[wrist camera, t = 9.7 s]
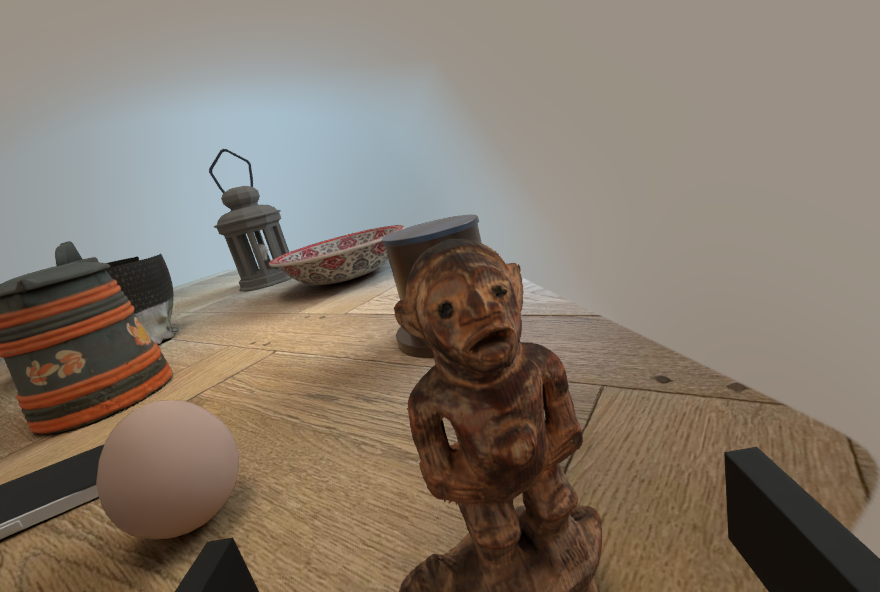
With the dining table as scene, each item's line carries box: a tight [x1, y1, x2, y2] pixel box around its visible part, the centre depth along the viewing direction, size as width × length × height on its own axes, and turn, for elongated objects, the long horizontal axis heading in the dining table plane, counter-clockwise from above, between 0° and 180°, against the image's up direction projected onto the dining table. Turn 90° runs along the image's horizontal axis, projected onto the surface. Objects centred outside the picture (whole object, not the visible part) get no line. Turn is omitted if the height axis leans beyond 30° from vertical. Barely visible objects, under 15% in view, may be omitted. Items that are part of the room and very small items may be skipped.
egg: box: [96, 400, 239, 539], centre depth 25 cm, size 7×7×8 cm
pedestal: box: [382, 215, 481, 358], centre depth 45 cm, size 13×13×12 cm
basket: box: [106, 254, 178, 345], centre depth 77 cm, size 28×35×16 cm
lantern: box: [209, 149, 292, 291], centre depth 109 cm, size 17×17×35 cm
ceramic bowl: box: [269, 225, 405, 285], centre depth 89 cm, size 29×29×8 cm
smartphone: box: [0, 445, 104, 539], centre depth 34 cm, size 8×1×15 cm
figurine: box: [394, 239, 602, 592], centre depth 14 cm, size 7×7×15 cm
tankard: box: [0, 241, 172, 434], centre depth 51 cm, size 19×15×20 cm
